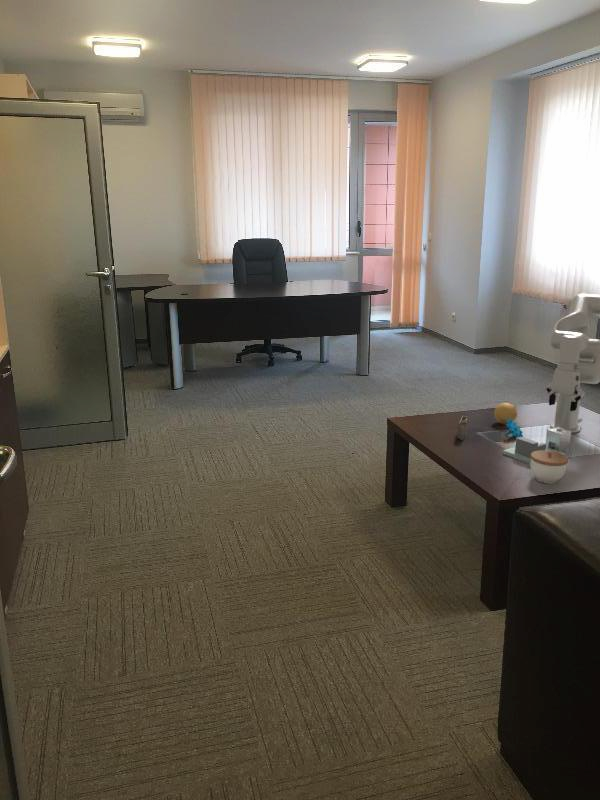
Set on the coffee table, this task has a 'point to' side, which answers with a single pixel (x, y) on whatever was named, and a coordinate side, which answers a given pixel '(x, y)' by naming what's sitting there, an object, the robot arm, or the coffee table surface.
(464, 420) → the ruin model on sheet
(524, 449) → the plate with grey stand
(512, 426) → the gear
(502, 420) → the stress ball
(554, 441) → the grey box with knob
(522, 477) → the coffee table surface
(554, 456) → the lidded bowl
